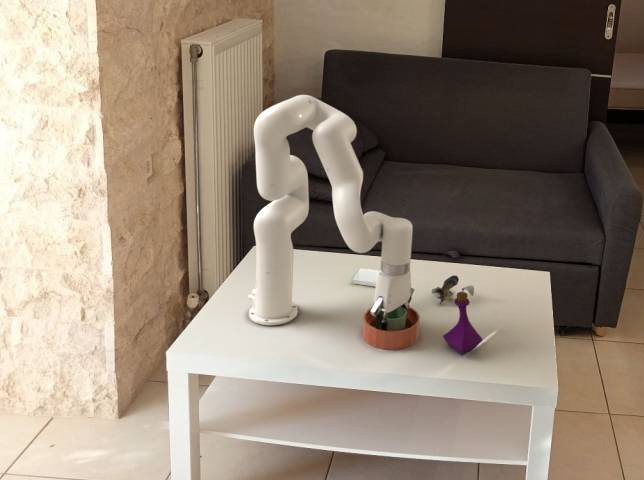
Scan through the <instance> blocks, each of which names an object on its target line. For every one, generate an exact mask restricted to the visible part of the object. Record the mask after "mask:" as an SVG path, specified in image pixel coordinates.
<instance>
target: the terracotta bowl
mask: <svg viewBox="0 0 644 480" xmlns="http://www.w3.org/2000/svg"><path fill="white" fill-rule="evenodd" d="M373 307H374V305H373V306H372V307H370V308H368V309H367V310H366V311H365V312H364V313H363V318H362V319H363V320H362V338H363V341H364V342H365V343H367V344H368V345H369V346H371V347H372V348H373V347H374V348H376V349H380V350H385V351H396V350H403V349H406V348H409V347H412V345H414V344H415V343H416V342H417V341H418V339H419V335H420V325H421V324H420V321H421V316H420V314H419V312H418V311H417V310H416V309H415V308H413V307H411V306H409V308H408V312H407V323H406V329H405V330H401V331H384V330H379V329H376V320H375V318H374V317H373V316H372V314H371V313H370V311H371V310H372V308H373Z"/></svg>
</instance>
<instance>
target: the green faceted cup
mask: <svg viewBox="0 0 644 480" xmlns="http://www.w3.org/2000/svg"><path fill="white" fill-rule="evenodd" d="M383 309H384V306H383ZM384 313H385V312H383V311H382V312H381V316H382V317H383V315H384ZM406 320H407V311H406V309H405V308H403V307H401V306H400V307H398V308H396V309H395V310H393V311H391V312H389V314H388V316H387V319H386V322H387V331H401V330H405V329H406Z"/></svg>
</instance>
